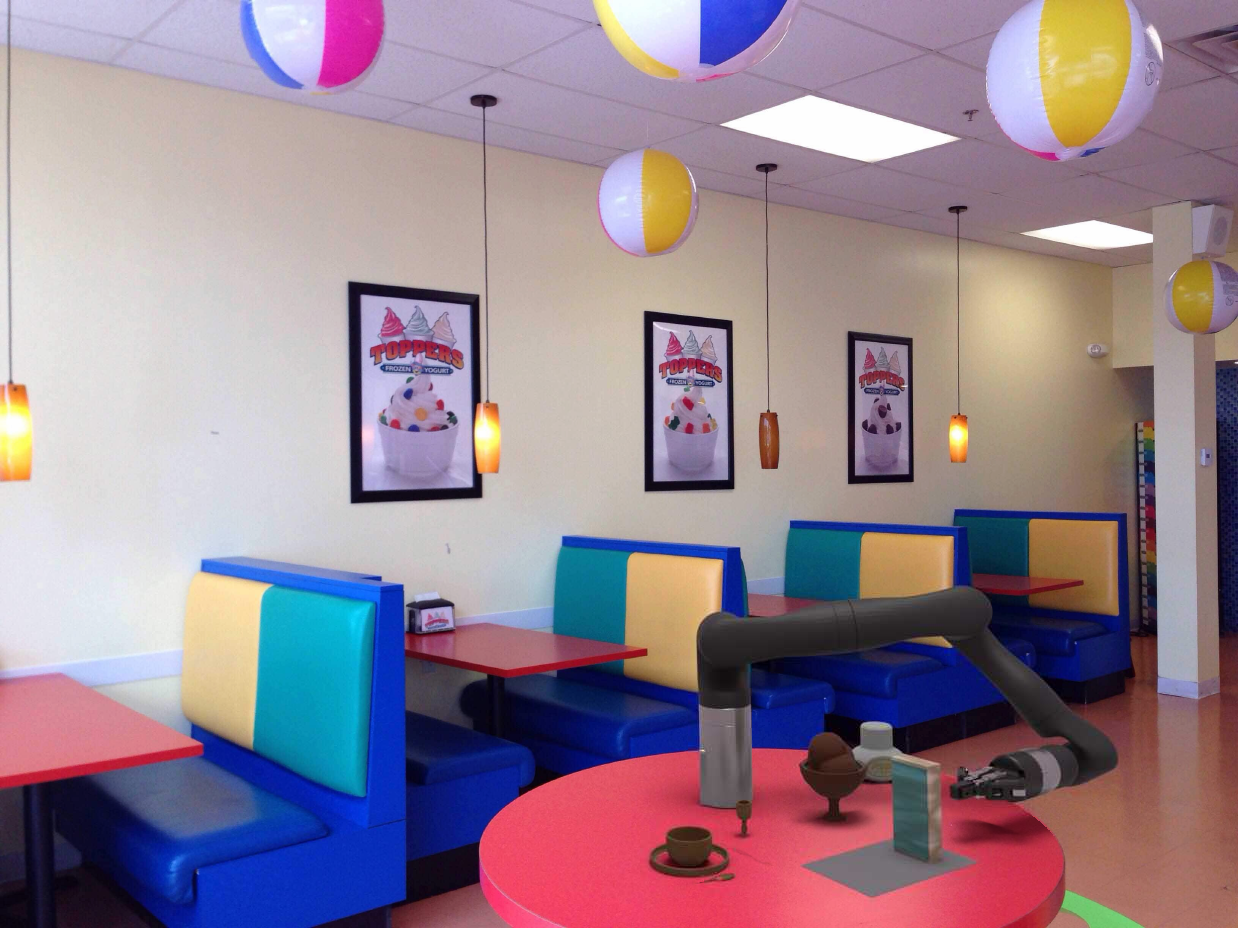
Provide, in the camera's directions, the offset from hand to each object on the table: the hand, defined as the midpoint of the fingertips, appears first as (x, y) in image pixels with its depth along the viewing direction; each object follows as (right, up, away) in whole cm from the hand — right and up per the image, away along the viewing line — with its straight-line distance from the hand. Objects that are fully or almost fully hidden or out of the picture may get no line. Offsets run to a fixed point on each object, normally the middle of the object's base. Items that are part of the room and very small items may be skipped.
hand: (953, 792), depth 157 cm
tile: (-7, -8, -5) cm, 11 cm away
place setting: (-37, -10, -2) cm, 38 cm away
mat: (-12, -8, -8) cm, 17 cm away
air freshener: (-2, -9, +37) cm, 38 cm away
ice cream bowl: (-16, -9, +13) cm, 22 cm away
